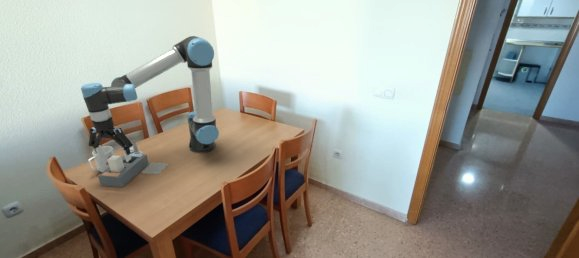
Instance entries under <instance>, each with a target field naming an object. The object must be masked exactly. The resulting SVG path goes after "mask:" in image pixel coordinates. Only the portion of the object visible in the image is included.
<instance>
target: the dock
mask: <svg viewBox="0 0 579 258" xmlns="http://www.w3.org/2000/svg"><path fill="white" fill-rule="evenodd" d="M130 156H131V160H129V161H128V162H126V159H125V156H124V155H123V156H121V158H122V161H123V165H124V168H125V169H124V170H122V171H121V172H120V173H111V170H110V167H109V168H107V169H106V170H105V171H104V172H101V173H100V174H98V175H97V177H98V181H99V183H100V186H102V187H116V188H124V187H125V186H126V185H127V184H128V183H129V182H131V181H132V179H133V178H134V177H136V176H137V175H138V174H139V173H141V172H142V171H143V170H144V169H145V168H146V167H147V166H148V165H149V164H150V163H149V160H148V155H147V154H145V153H143V154H130Z"/></svg>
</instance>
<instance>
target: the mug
mask: <svg viewBox="0 0 579 258" xmlns="http://www.w3.org/2000/svg"><path fill="white" fill-rule="evenodd" d="M101 147H102V150H103V153H104V155H105V158H103V159H102V160H99V157H98V154H97V153H96V152H95V149H94V150H93V151H92V153H91V154H92V157H90V158H89V159H87V161H88V163H89V166H90V168H91V169H92V170H95V171H99V172H101V173H102V172H104V171H105V170H106V169H107V168H109V164H108V161H107V159H109V158H110V157H112V156H113V155H114V156H116V154H115V151H114V148H113V147H112V146H110V145H106V146H105V145H104V146H101ZM93 160H94V163H95V165H96V168H95V167H94V165H93V163H92V161H93Z"/></svg>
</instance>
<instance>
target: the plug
mask: <svg viewBox="0 0 579 258" xmlns="http://www.w3.org/2000/svg"><path fill="white" fill-rule="evenodd" d="M107 161H108V164H109V167H110V170H111V173H120V172H121V171H122V170H124V169H125V168H124V165H123V161H122V156H121V155H115V156H114V155H113V156H112V157H110V158H109V159H107Z"/></svg>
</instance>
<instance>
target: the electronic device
mask: <svg viewBox="0 0 579 258" xmlns="http://www.w3.org/2000/svg"><path fill="white" fill-rule="evenodd" d="M131 143H132V144H133V146H132V147H130V152H131V154H144V153H143V151H141V150H140V149H139V148H138V146H137V142H136V141H132V142H131Z"/></svg>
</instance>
